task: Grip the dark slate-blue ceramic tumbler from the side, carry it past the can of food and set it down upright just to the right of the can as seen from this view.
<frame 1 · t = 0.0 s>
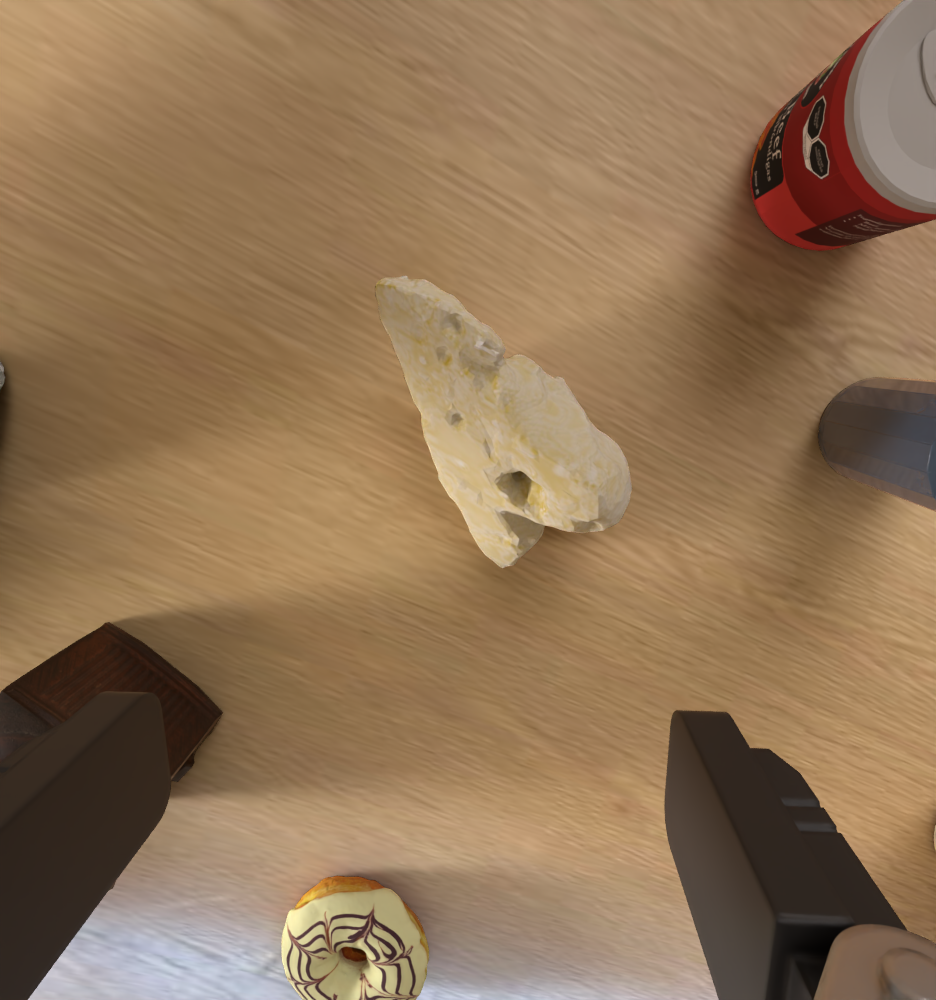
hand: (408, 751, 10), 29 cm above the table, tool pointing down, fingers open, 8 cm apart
cream rock: (482, 418, 38), on the table
manual coffee grinder: (152, 690, 44), on the table
canned food: (817, 175, 34), on the table
decorated donut: (362, 923, 47), on the table
tumbler: (871, 429, 36), on the table
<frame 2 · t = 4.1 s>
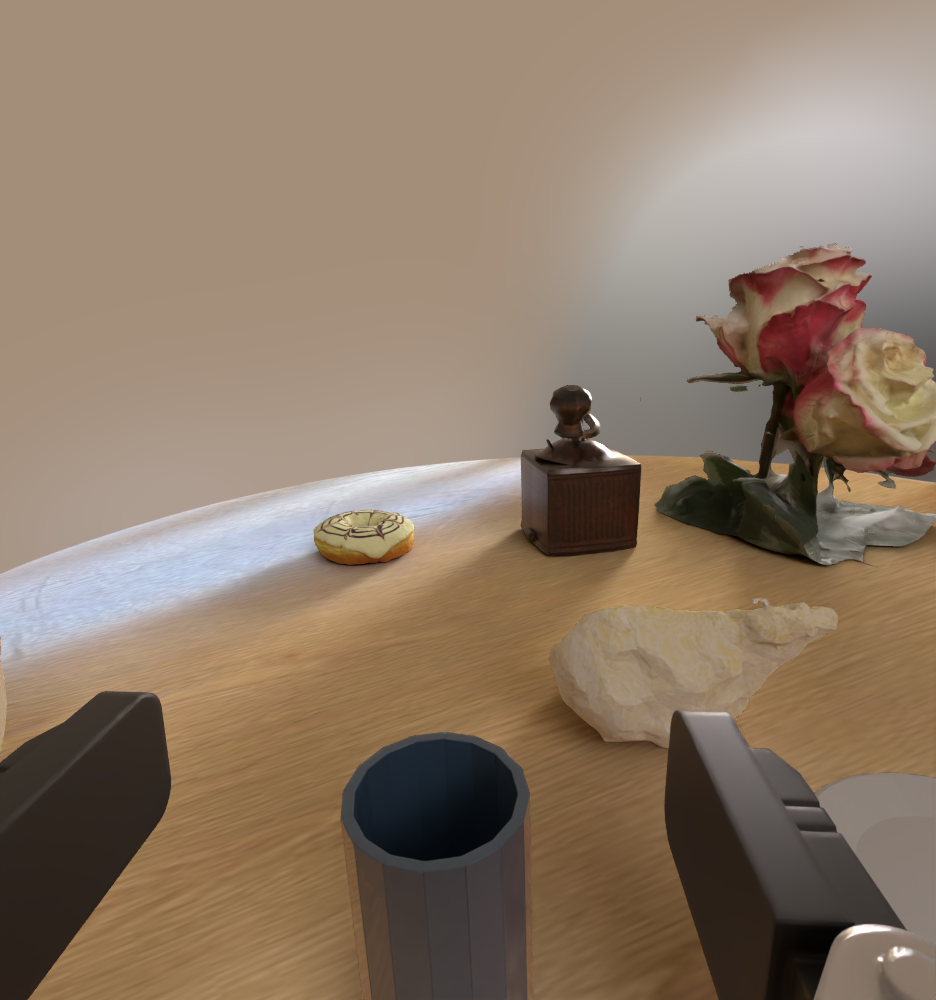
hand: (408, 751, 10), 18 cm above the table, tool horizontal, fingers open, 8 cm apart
cream rock: (680, 713, 40), on the table
manual coffee grinder: (581, 546, 69), on the table
decorated donut: (366, 553, 69), on the table
rose bouquet: (804, 519, 74), on the table
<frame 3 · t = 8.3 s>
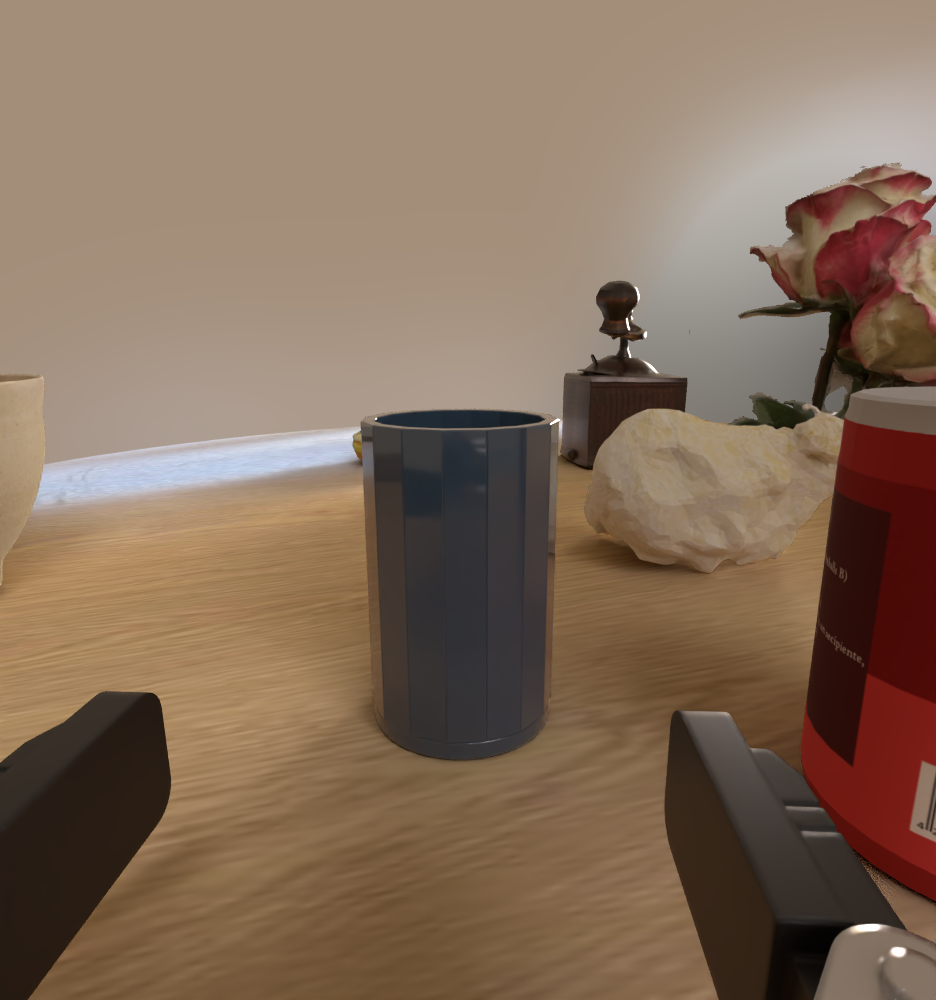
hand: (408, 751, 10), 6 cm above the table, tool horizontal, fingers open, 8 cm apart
cream rock: (721, 556, 38), on the table
manual coffee grinder: (622, 466, 67), on the table
tumbler: (462, 705, 22), on the table
rose bouquet: (859, 459, 70), on the table
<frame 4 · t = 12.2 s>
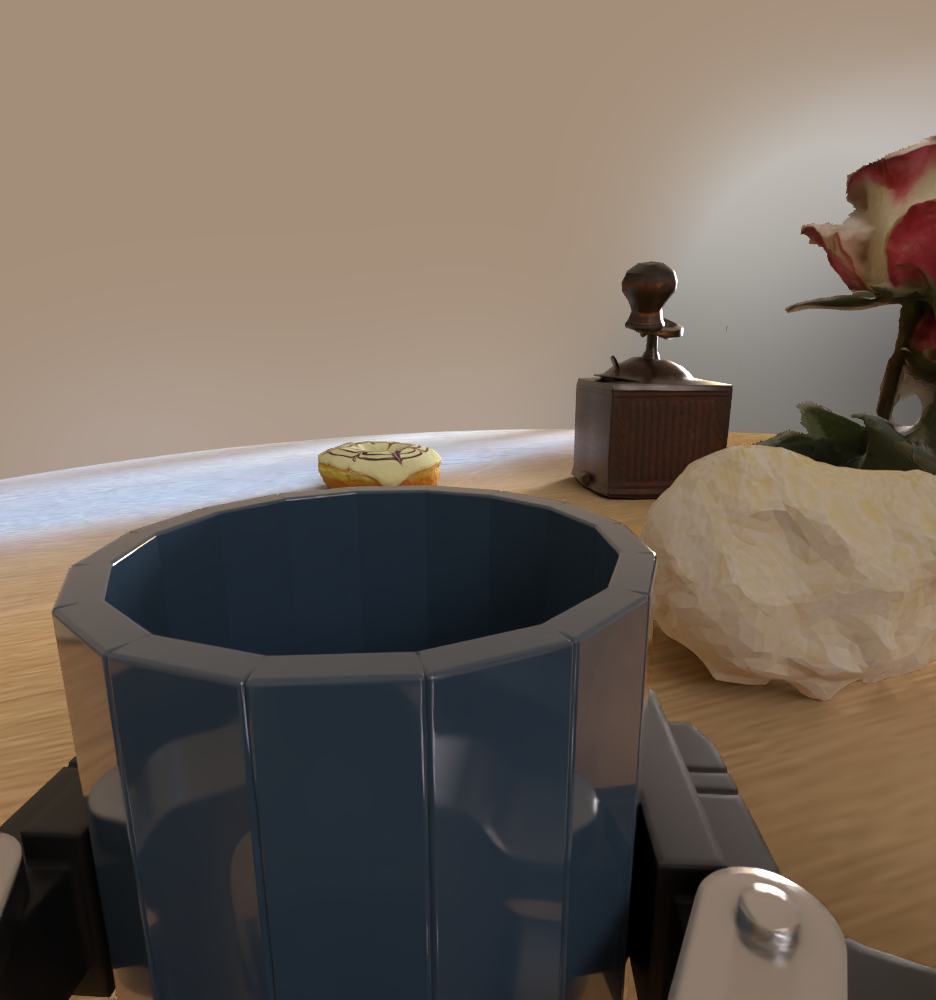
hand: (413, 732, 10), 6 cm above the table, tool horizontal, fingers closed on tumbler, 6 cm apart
cream rock: (827, 659, 25), on the table
manual coffee grinder: (649, 493, 54), on the table
decorated donut: (381, 489, 57), on the table
rose bouquet: (935, 483, 58), on the table
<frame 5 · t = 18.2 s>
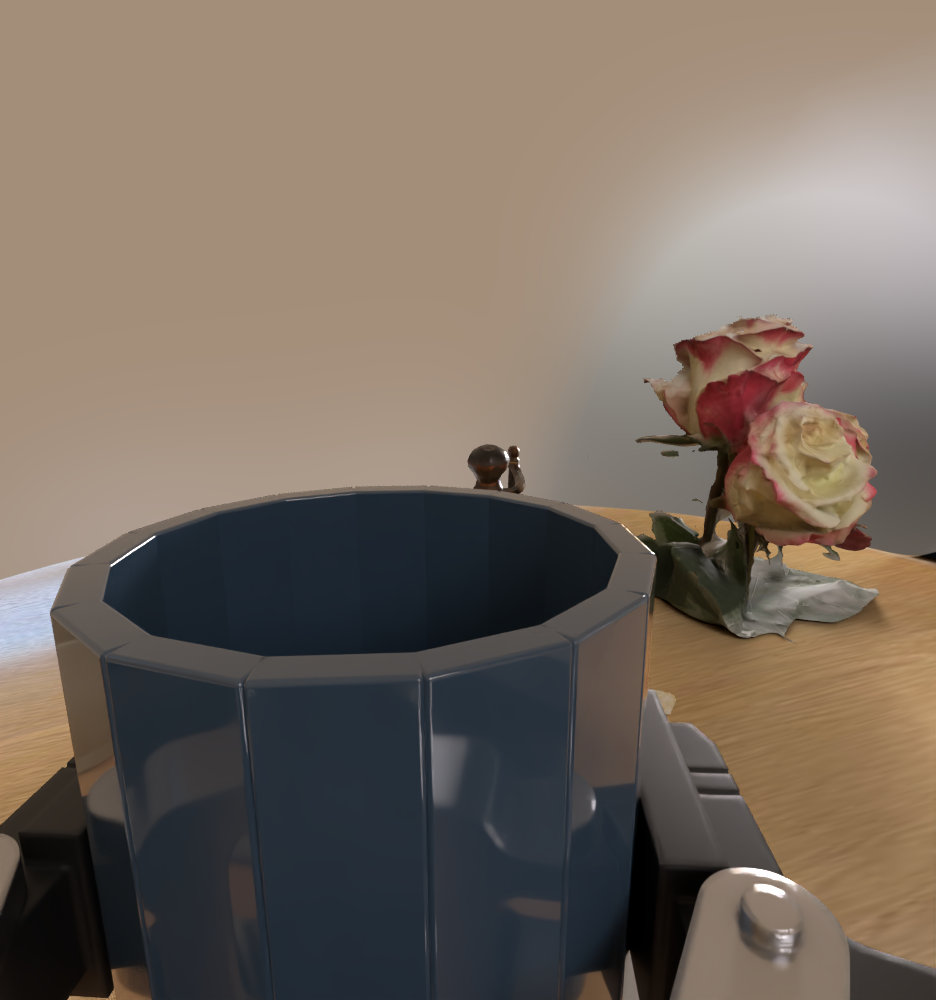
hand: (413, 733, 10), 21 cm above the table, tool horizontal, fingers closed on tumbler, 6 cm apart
cream rock: (527, 786, 40), on the table
manual coffee grinder: (511, 601, 69), on the table
rose bouquet: (746, 586, 73), on the table
when the fingers open (6 cm above the table, at t = 24.3 s): tumbler stays where it is, on the table.
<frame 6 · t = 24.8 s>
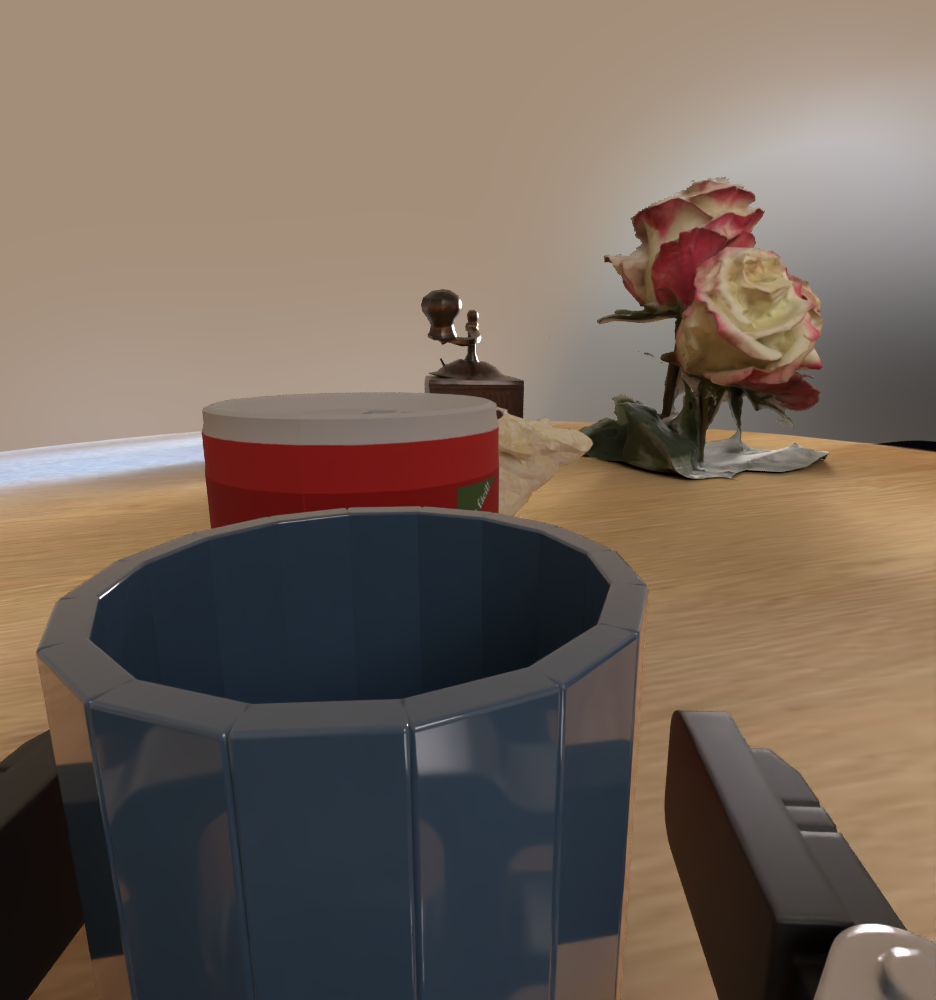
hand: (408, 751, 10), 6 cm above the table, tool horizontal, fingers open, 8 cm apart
cream rock: (455, 545, 41), on the table
manual coffee grinder: (470, 464, 70), on the table
canned food: (370, 757, 20), on the table
rose bouquet: (703, 458, 74), on the table
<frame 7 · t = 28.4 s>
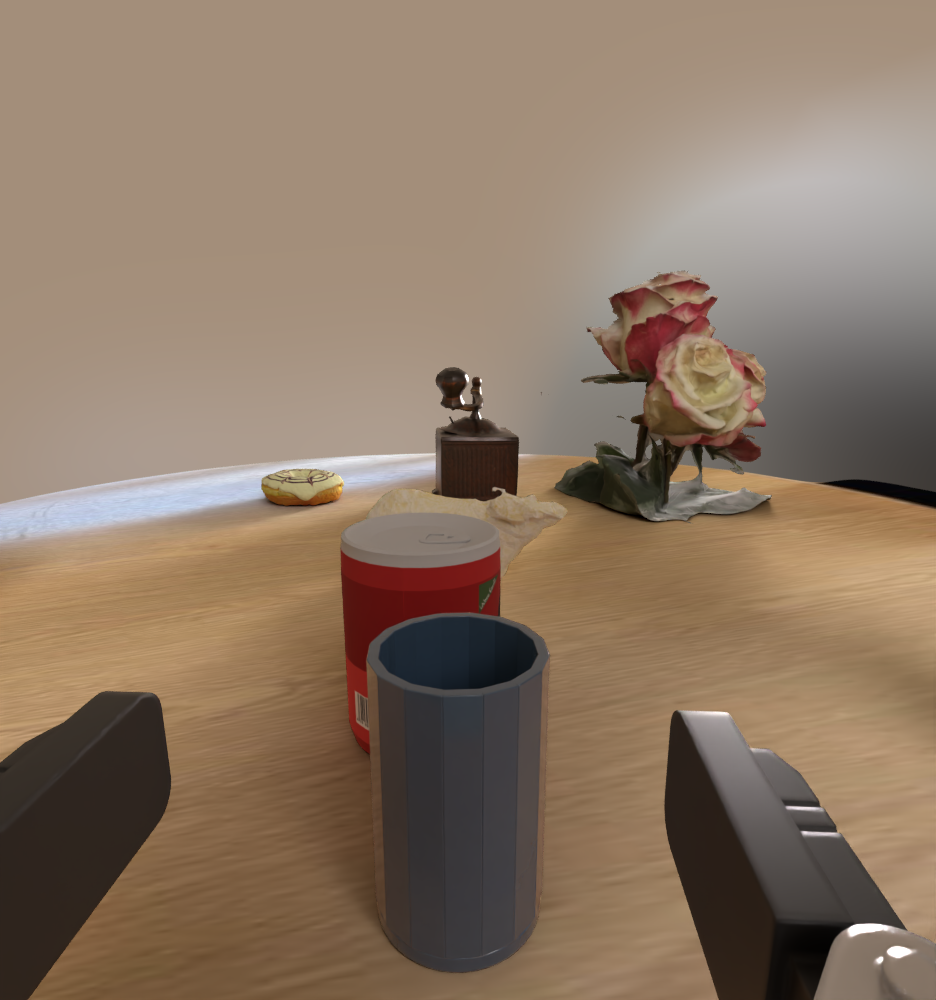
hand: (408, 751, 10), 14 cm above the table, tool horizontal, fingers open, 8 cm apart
cream rock: (466, 583, 55), on the table
manual coffee grinder: (474, 504, 84), on the table
canned food: (424, 729, 34), on the table
decorated donut: (303, 500, 87), on the table
tumbler: (459, 896, 23), on the table
rose bouquet: (669, 498, 88), on the table
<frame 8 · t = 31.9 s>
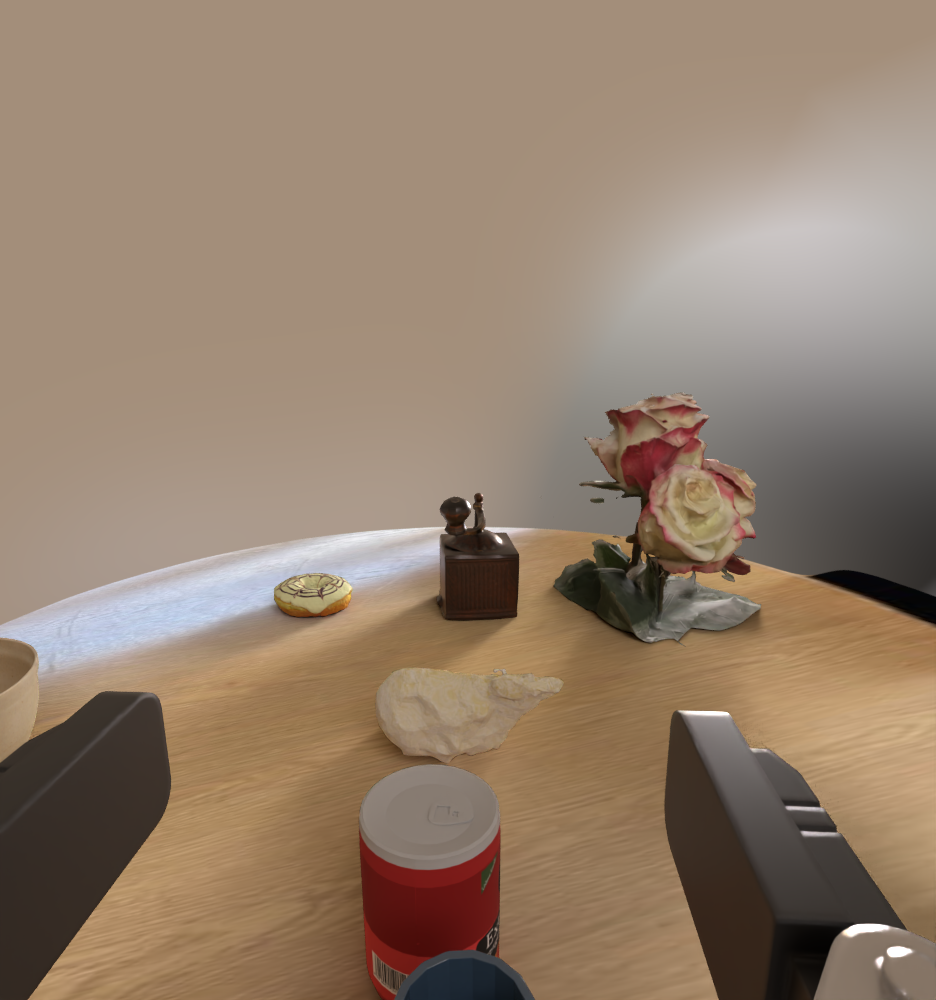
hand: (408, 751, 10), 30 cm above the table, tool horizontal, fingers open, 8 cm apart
cream rock: (469, 742, 60), on the table
manual coffee grinder: (477, 613, 89), on the table
canned food: (433, 964, 38), on the table
decorated donut: (314, 607, 91), on the table
rose bouquet: (664, 601, 92), on the table
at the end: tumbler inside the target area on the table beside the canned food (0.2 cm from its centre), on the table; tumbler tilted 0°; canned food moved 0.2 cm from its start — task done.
